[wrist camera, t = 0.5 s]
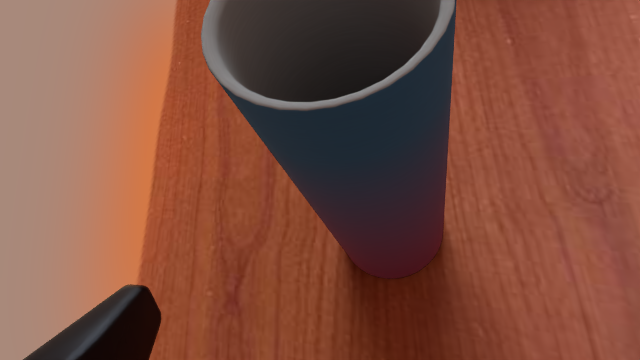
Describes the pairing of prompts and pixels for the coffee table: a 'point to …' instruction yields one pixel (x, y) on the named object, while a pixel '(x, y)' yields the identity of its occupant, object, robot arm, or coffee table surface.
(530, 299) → the coffee table surface
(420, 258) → the cup
